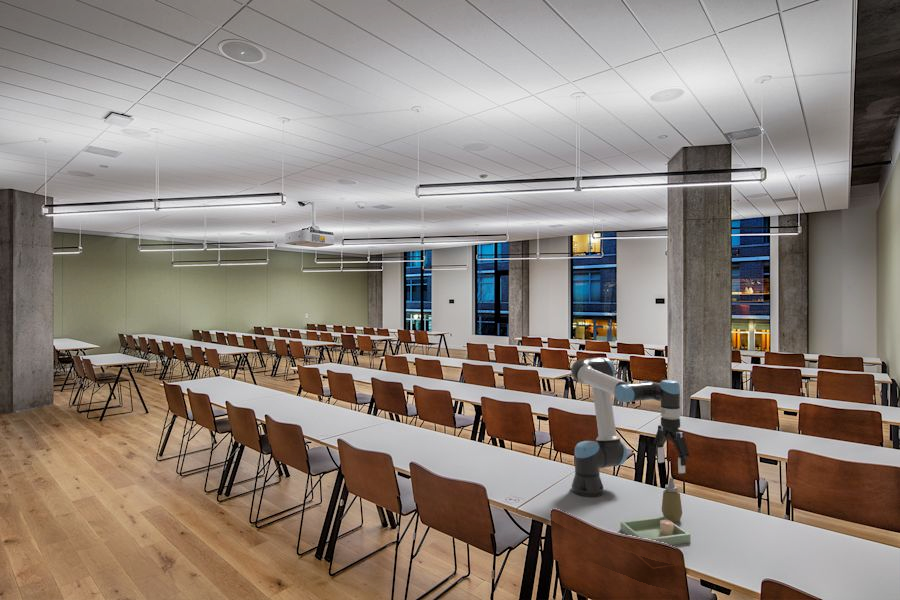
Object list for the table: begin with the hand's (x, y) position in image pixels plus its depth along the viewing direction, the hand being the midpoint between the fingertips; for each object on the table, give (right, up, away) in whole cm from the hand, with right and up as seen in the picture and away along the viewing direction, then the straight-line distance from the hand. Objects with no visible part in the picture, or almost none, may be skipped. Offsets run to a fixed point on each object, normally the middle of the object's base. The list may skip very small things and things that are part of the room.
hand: (671, 467), depth 209 cm
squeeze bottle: (+1, -23, 0) cm, 23 cm away
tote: (-13, -23, -14) cm, 30 cm away
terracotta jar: (-7, -22, -13) cm, 27 cm away
